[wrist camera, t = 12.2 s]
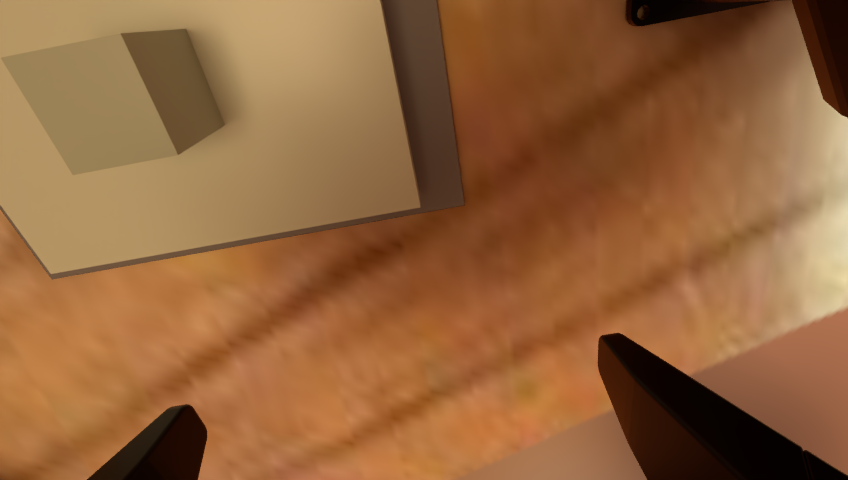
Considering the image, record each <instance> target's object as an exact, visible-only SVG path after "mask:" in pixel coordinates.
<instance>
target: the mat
mask: <svg viewBox="0 0 848 480" xmlns="http://www.w3.org/2000/svg"><path fill="white" fill-rule="evenodd" d="M382 3H383V8H384V13H385V19H386V24H387V29H388V34H389V39H390V44H391V50H392V55H393V60H394V65H395V70H396V75H397V81H398V86H399V91H400V96H401V101H402V106H403V112H404V117H405V122H406V127H407V132H408V137H409V142H410V148H411V153H412V158H413V163H414V168H415V173H416V179H417V184H418V189H419V197H420V208H414V209H409V210H403V211H398V212H392V213H387V214H381V215H376V216H370V217H365V218H359V219H353V220H348V221H342V222H337V223H331V224H326V225H320V226H315V227H309V228H304V229H298V230H293V231H287V232H281V233H276V234H270V235H265V236H259V237H254V238H248V239H243V240H237V241H232V242H226V243H221V244H215V245H209V246H204V247H198V248H193V249H187V250H182V251H176V252H171V253H165V254H160V255H154V256H149V257H143V258H137V259H132V260H126V261H121V262H115V263H110V264H104V265H99V266H93V267H88V268H82V269H77V270H71V271H65V272H60V273H54V274H50V272H49V271H48V269H47V268H46V267H45V265H44V264H43V263H42V261H41V260H40V259H39V257H38V256H37V254H36V253H35V252H34V250H33V249H32V248H31V246H30V245H29V244H28V242H27V241H26V239H25V238H24V237H23V235H22V234H21V233H20V231H19V230H18V229H17V227H16V226H15V224H14V223H13V222H12V220H11V219H10V218H9V216H8V215H7V214H6V212H5V211H4V209H3V208H2V207H1V205H0V209H1V211H2V212H3V214H4V215H5V216H6V218H7V219H8V220H9V222H10V223H11V224H12V226H13V227H14V228H15V230H16V231H17V233H18V234H19V235H20V237H21V238H22V239H23V241H24V242H25V243H26V245H27V246H28V248H29V249H30V250H31V252H32V253H33V254H34V256H35V257H36V258H37V260H38V261H39V262H40V264H41V265H42V267H43V268H44V269H45V271H46V272H47V273H48V275H49V276H50V277H51V279H57V278H62V277H68V276H73V275H79V274H84V273H90V272H96V271H101V270H107V269H112V268H118V267H124V266H129V265H135V264H140V263H146V262H151V261H157V260H163V259H168V258H174V257H179V256H185V255H190V254H196V253H202V252H207V251H213V250H218V249H224V248H229V247H235V246H241V245H246V244H252V243H257V242H263V241H269V240H274V239H280V238H285V237H291V236H296V235H302V234H308V233H313V232H319V231H324V230H330V229H335V228H341V227H347V226H352V225H358V224H363V223H369V222H375V221H380V220H386V219H391V218H397V217H402V216H408V215H414V214H419V213H425V212H430V211H436V210H441V209H447V208H453V207H458V206H464V205H465V204H464V196H463V189H462V182H461V175H460V167H459V160H458V153H457V146H456V138H455V131H454V124H453V117H452V109H451V102H450V95H449V88H448V80H447V73H446V66H445V59H444V51H443V44H442V37H441V30H440V22H439V15H438V8H437V1H436V0H382Z"/></svg>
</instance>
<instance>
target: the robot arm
mask: <svg viewBox="0 0 848 480" xmlns="http://www.w3.org/2000/svg"><path fill="white" fill-rule="evenodd" d="M769 1H779V0H627V13H626V16H627V21H628V22H629V24H631V25H633V26H645V25H650V24H656V23H661V22H666V21H671V20H676V19H681V18H687V17H692V16H697V15H702V14H707V13H712V12H718V11H723V10H728V9H733V8H738V7H744V6H749V5H754V4H759V3H764V2H769ZM792 3H793V6H794V9H795V12H796V15H797V18H798V21H799V24H800V27H801V31H802V34H803V37H804V40H805V43H806V46H807V49H808V52H809V56H810V59H811V62H812V65H813V68H814V71H815V74H816V77H817V80H818V84H819V87H820V90H821V93H822V96H823V99H824V100H825V101H826V102H827V103H828V104H829V105H831V106H832V107H833V108H834V109H835V110H836V111H837V112H839V113H840V114H841V115H843V116H845V117H848V0H792ZM641 6H643V7H644V10H645V12H644V15H643V16H642V17H641V18H640V19H639V18H638V17H637V12H638V9H639V8H640V7H641ZM598 369H599V372H600V375H601V378H602V380H603V383H604V385H605V388H606V390H607V393H608V395H609V398H610V400H611V403H612V405H613V408H614V410H615V412H616V415H617V417H618V420H619V422H620V425H621V427H622V429H623V432H624V434H625V437H626V439H627V441H628V444H629V446H630V448H631V450H632V452H633V454H634V456H635V457H636V459H637V461H638V463H639V465H640V466H641V469H642V470H643V472H644V474H645V476H646V478H647V480H848V475H846V474H844V473H843V472H841V471H840V470H838V469H836V468H835V467H833V466H831V465H830V464H828V463H827V462H825V461H823V460H822V459H820V458H819V457H817V456H816V455H814V454H812V453H811V452H809V451H807V450H804V451H803V449H802V447H801V446H799V445H798V444H796V443H795V442H793V441H791V440H790V439H788V438H787V437H785V436H783V435H782V434H780V433H779V432H777V431H775V430H774V429H772V428H771V427H769V426H768V425H766V424H764V423H763V422H761V421H759V420H758V419H756V418H755V417H753V416H752V415H750V414H748V413H747V412H745V411H744V410H742V409H740V408H739V407H737V406H735V405H734V404H733V403H731V402H729V401H728V400H726V399H725V398H723V397H721V396H720V395H718V394H717V393H715V392H713V391H712V390H710V389H709V388H707V387H705V386H704V385H702V384H701V383H699V382H697V381H696V380H694V379H693V378H691V377H690V376H688V375H686V374H685V373H683V372H682V371H680V370H678V369H677V368H675V367H674V366H672V365H670V364H669V363H667V362H666V361H664V360H662V359H661V358H659V357H658V356H656V355H655V354H653V353H651V352H650V351H648V350H647V349H645V348H643V347H642V346H640V345H639V344H637V343H635V342H634V341H632V340H631V339H629V338H627V337H626V336H624V335H623V334H620V333H613V334H607V335H602V336H601V337H600V338H599V344H598ZM206 441H207V429H206V427H205V425H204V423H203V422H202V420H201V419H200V417H199V416H198V414H197V413H196V411H195V410H194V408H193V407H192V406H190V405H187V404H185V405H179V406H173V407H170V408H168V409H167V410H166V411H165V412H163V413H162V414H161V415H160V416H159V417H158V418H157V419H155V420H154V421H153V422H152V423H151V424H150V425H149V426H147V427H146V428H145V429H144V430H143V431H142V432H141V433H139V434H138V435H137V436H136V437H135V438H134V439H133V440H132V441H130V442H129V443H128V444H127V445H126V446H125V447H124V448H122V449H121V450H120V451H119V452H118V453H117V454H116V455H114V456H113V457H112V458H111V459H110V460H109V461H108V462H106V463H105V464H104V465H103V466H102V467H101V468H100V469H99V470H97V471H96V472H95V473H94V474H93V475H92V476H91V477H89V478H88V479H87V480H198V476H199V472H200V467H201V463H202V458H203V454H204V450H205V445H206Z"/></svg>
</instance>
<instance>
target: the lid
mask: <svg viewBox="0 0 848 480" xmlns="http://www.w3.org/2000/svg"><path fill="white" fill-rule="evenodd" d="M0 205H1V207H2V208H3V209H4V211H5V212H6V214H7V215H8V216H9V218H10V219H11V220H12V222H13V223H14V224H15V226H16V227H17V229H18V230H19V231H20V233H21V234H22V235H23V237H24V238H25V239H26V241H27V242H28V244H29V245H30V246H31V248H32V249H33V250H34V252H35V253H36V254H37V256H38V257H39V259H40V260H41V261H42V263H43V264H44V265H45V267H46V268H47V269H48V271H49V272H50V274H54V273H60V272H65V271H71V270H77V269H82V268H88V267H93V266H99V265H104V264H110V263H115V262H121V261H126V260H132V259H137V258H143V257H149V256H154V255H160V254H165V253H171V252H176V251H182V250H187V249H193V248H198V247H204V246H209V245H215V244H221V243H226V242H232V241H237V240H243V239H248V238H254V237H259V236H265V235H270V234H276V233H281V232H287V231H293V230H298V229H304V228H309V227H315V226H320V225H326V224H331V223H337V222H342V221H348V220H353V219H359V218H365V217H370V216H376V215H381V214H387V213H392V212H398V211H403V210H409V209H414V208H420V197H419V189H418V184H417V179H416V173H415V168H414V163H413V158H412V153H411V148H410V142H409V137H408V132H407V127H406V122H405V117H404V112H403V106H402V101H401V96H400V91H399V86H398V81H397V75H396V70H395V65H394V60H393V55H392V50H391V44H390V39H389V34H388V29H387V24H386V19H385V13H384V8H383V3H382V0H0Z"/></svg>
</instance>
